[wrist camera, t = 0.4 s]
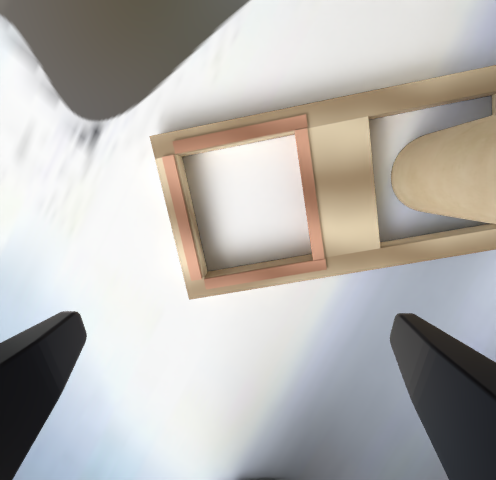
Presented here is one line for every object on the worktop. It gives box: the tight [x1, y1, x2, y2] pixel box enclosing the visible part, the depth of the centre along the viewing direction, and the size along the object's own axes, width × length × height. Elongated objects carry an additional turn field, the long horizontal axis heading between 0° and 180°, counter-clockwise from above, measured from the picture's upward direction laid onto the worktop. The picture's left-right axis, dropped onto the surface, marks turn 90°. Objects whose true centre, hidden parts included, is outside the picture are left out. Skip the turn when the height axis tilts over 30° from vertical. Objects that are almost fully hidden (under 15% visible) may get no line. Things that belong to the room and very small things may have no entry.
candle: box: [391, 114, 496, 224], centre depth 15 cm, size 6×6×10 cm
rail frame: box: [150, 65, 496, 300], centre depth 19 cm, size 12×25×2 cm, turn 101°
